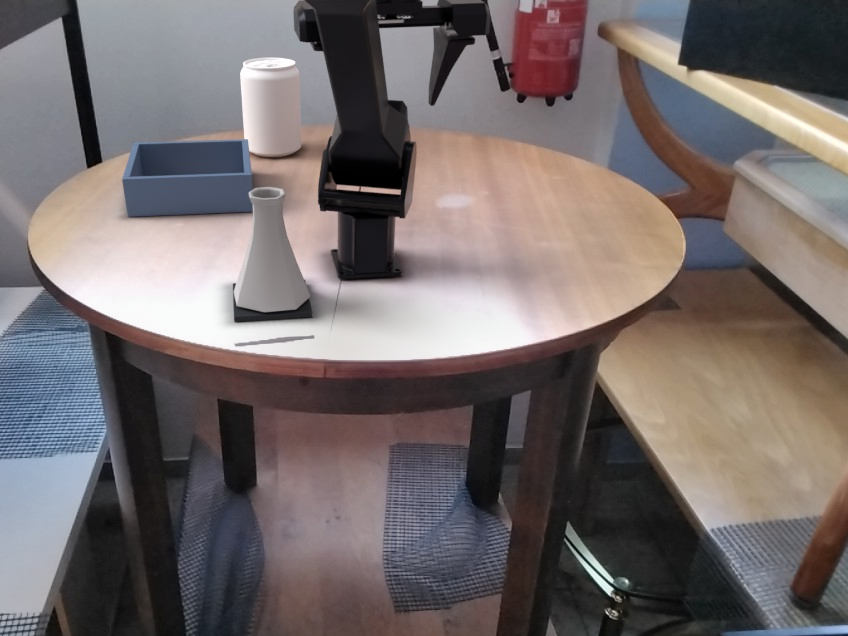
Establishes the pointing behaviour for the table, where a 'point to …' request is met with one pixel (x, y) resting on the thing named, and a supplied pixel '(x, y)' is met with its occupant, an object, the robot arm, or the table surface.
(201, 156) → the tote
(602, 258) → the table surface
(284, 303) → the flask
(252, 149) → the beverage can
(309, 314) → the coaster
